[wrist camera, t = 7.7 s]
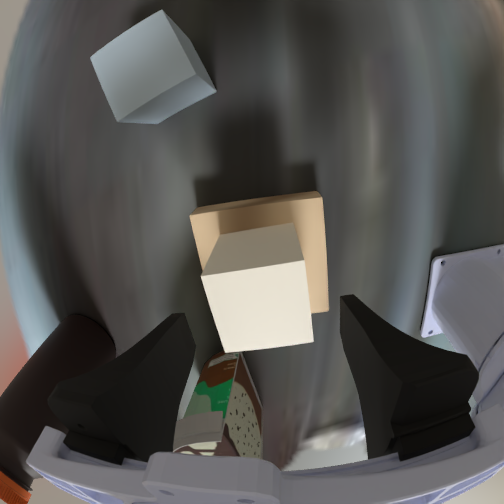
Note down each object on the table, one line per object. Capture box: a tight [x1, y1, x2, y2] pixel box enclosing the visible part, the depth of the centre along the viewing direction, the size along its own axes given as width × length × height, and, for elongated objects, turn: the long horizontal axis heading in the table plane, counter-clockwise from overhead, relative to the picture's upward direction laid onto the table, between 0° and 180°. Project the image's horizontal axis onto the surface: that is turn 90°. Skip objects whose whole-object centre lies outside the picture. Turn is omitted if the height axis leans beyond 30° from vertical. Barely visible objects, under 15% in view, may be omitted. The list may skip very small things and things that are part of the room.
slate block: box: [90, 10, 217, 124], centre depth 13 cm, size 4×4×6 cm
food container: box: [173, 351, 263, 459], centre depth 21 cm, size 12×6×10 cm, turn 14°
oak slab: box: [190, 191, 329, 313], centre depth 19 cm, size 8×8×2 cm
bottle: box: [0, 315, 116, 504], centre depth 16 cm, size 7×7×20 cm
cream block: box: [201, 222, 314, 353], centre depth 15 cm, size 4×4×6 cm
